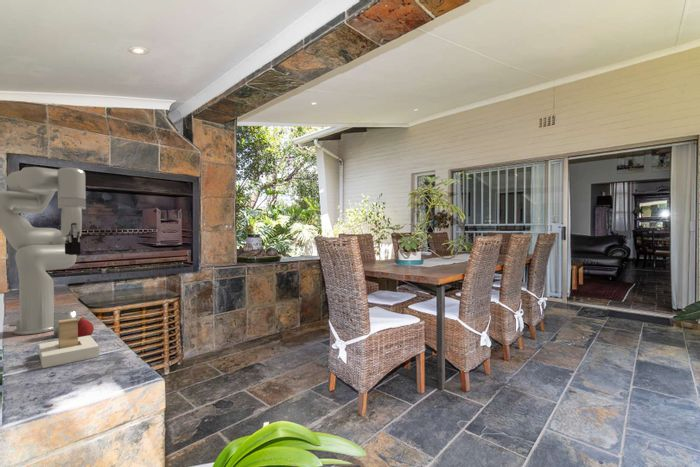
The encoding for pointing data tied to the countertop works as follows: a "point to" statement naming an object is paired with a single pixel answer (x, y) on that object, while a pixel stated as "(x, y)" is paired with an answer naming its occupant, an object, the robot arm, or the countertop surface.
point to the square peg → (68, 333)
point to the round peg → (63, 318)
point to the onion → (84, 327)
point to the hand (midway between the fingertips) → (72, 254)
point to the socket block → (67, 352)
